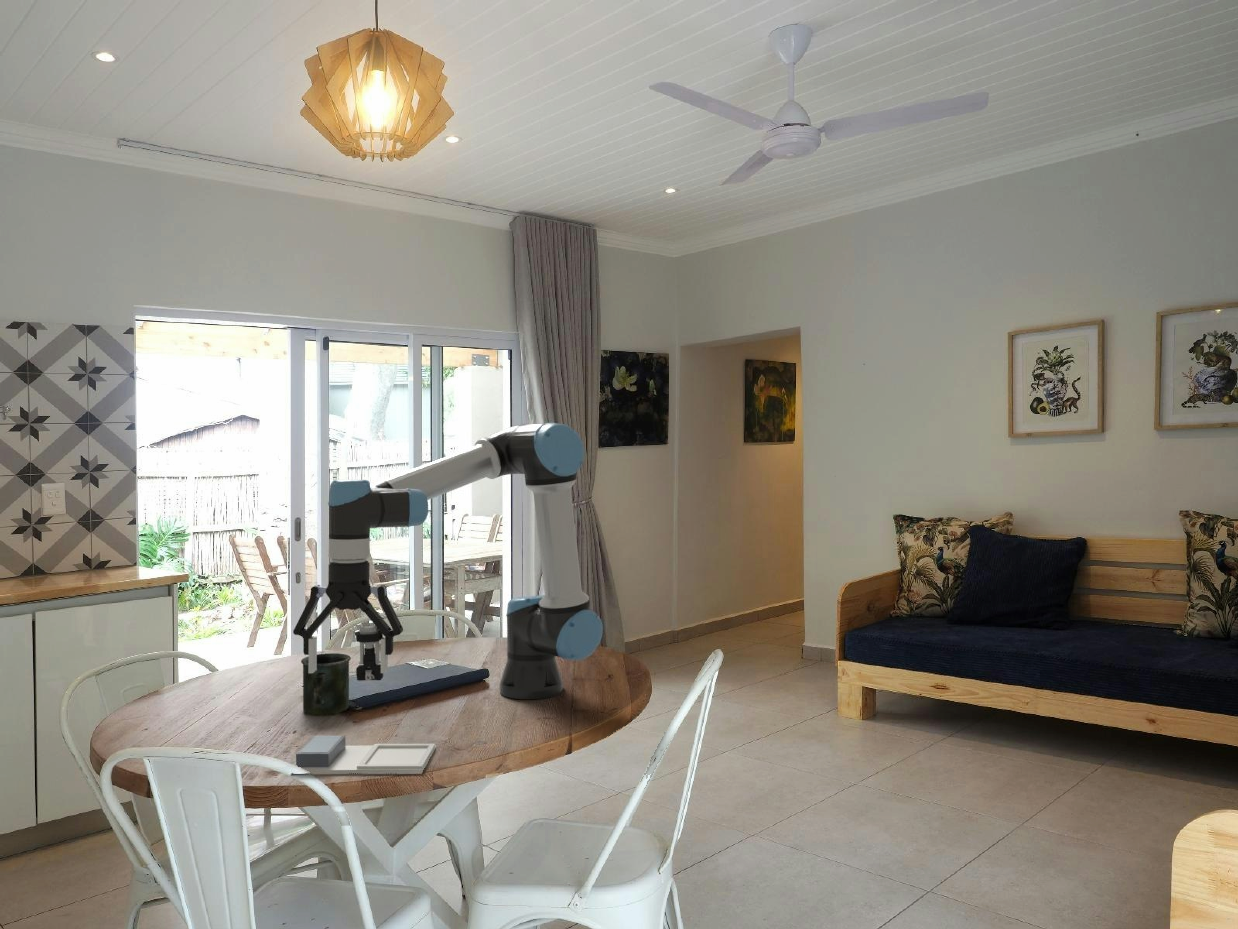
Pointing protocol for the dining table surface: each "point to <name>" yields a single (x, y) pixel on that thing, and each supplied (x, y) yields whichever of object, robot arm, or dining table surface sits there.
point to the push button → (368, 654)
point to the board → (379, 759)
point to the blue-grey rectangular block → (320, 751)
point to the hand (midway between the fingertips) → (348, 672)
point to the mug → (326, 685)
